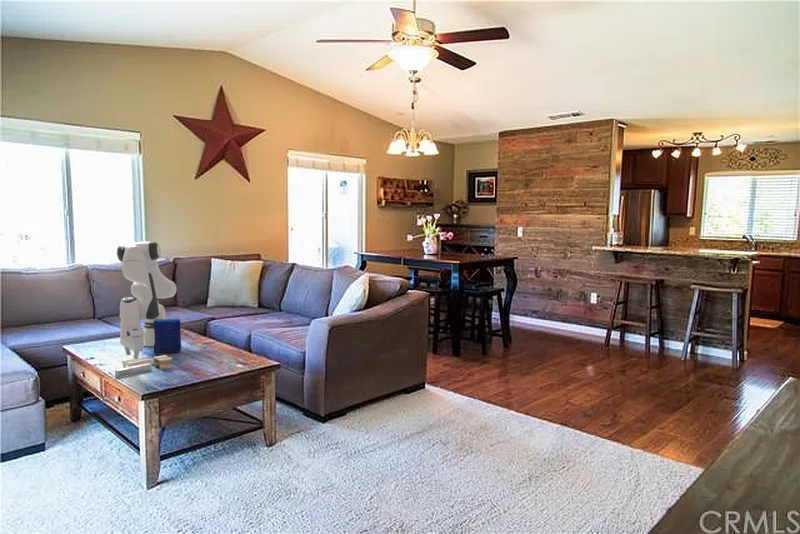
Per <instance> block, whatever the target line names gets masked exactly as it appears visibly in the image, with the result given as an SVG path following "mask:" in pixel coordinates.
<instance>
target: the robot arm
mask: <svg viewBox="0 0 800 534" xmlns="http://www.w3.org/2000/svg"><path fill="white" fill-rule="evenodd" d="M161 252H162V251H161V247H160V245H159V243H158V242H156V241H152V240H151V241H136V242H131V243H122V244H119V246H118V247H117V250H116V255H117V258H118V259H117V260H119V261H120V262H121V264H122V265H121V268H122V269H121V271H122V275H123V277H124V278H125V279H126V280H128V281H129V282H133V283H132V284H131V287H130V292H131V295H132V296H125V297H123V298H121V299H120V303H119V304H120V305H119V306H118V317H119V318H120V337H119V339H120V340H119V343H120V346H123V347H124V350H125V355H126V356H131V354H132V352H131V351H133V355H132V356H133V357H132V359H133V358H134V359H138V357H139V355H140V352H143V350H144V347H154V343H155V333H154V320H155V319H166V311H165V307H164V305H162V304H160V302H159V301H158V299H168V298H173V297H174V296H175V295H176V293H177V290H178V289H177V285H176V283H175V282H174V281H173V280H170V279H168V277H166V276H165V275H164V274H163V273H162V271H161V270H160V267H159V264H158V259H159V258H160V257H161ZM140 320H144V322H143V328H142V326H141V321H140Z"/></svg>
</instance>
